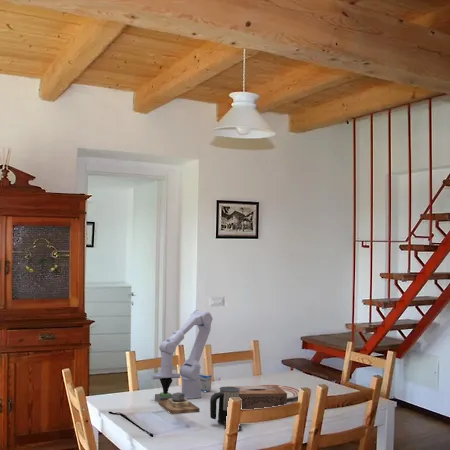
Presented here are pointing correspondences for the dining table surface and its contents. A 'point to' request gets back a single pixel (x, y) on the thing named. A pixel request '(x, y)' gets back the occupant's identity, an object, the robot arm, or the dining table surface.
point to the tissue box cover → (261, 396)
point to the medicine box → (205, 382)
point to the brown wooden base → (178, 406)
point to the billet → (178, 397)
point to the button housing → (159, 398)
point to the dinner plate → (286, 390)
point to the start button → (165, 395)
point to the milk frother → (222, 403)
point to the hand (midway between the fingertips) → (165, 393)
